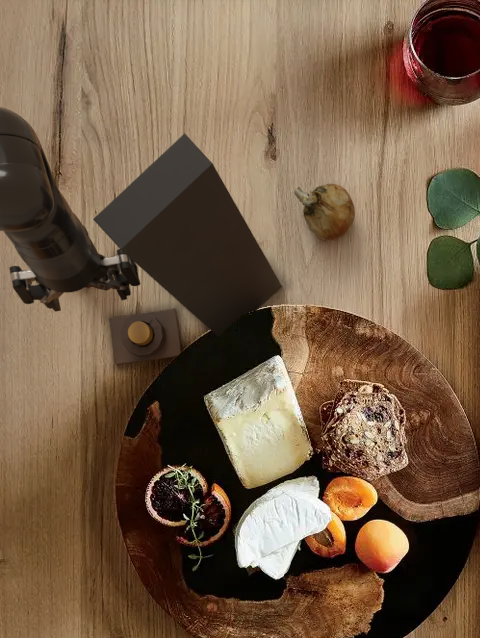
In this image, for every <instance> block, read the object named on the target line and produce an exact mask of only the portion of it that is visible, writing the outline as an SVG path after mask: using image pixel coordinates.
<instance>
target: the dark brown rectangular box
mask: <svg viewBox="0 0 480 638" xmlns="http://www.w3.org/2000/svg"><path fill="white" fill-rule="evenodd" d="M92 220H93V221H94V223H96V225H97V226H98V227H99V228H100V229H101V230H102V231H103V232H104V233H105V234H106V235H107V237H109V239H110V240H111V241H112V242H113V243H114V244H115V245H116V246H117V247H118V249H121V250H122V251H123V252H124V253H125V254H126V255H127V256H128V257H130V258H131V259H132V260H133V261H134V262H135V263H136V265H137V267H140V268H141V269H142V270H143V271H144V272H145V273H146V274H147V275H148V276H149V277H151V278H152V280H154V281H155V282H156V283H157V284H159V286H161V288H163V289H164V290H165V291H166V292H168V293H169V295H171V296H172V297H173V298H174V299H175V300H177V302H179V303H180V304H181V305H182V306H183V307H184V308H185V309H186V310H187V311H188V312H190V313H191V314H192V315H193V316H194V317H195V318H196V319H198V320H199V321H200V323H202V324H203V325H204V326H205V327H206V328H207V329H209V330H210V331H211V332H212V333H213V334H215V336H217V337H218V338H219V336H220V335H221V334H222V333H223V332H224V331H225V330H226V329H227V328H228V327H229V326H231V325H232V323H233V322H235V321H236V320H237V318H239V317H240V316H242V315H245V314H247V313H249V312H252V311H256V310H257V311H258V310H260V308H261V307H263V306H264V304H265V303H266V302H268V301H269V300H270V299H271V298H272V297H273V296H274V295H275V294H276V293H277V292H278V291H280V290H281V289H282V288H283V285H282V283H281V281H280V279H279V278H278V276H277V275H276V273H275V271H274V269H273V268H272V265H271V263H270V262H269V260H268V258H267V257H266V255H265V253H264V252H263V249H262V248H261V246H260V245H259V242H258V241H257V239H256V238H255V236H254V234H253V232H252V230H251V228H250V226H249V225H248V223H247V222H246V220H245V218H244V216H243V215H242V213H241V211H240V209H239V207H238V205H237V204H236V202H235V200H234V198H233V197H232V195H231V193H230V191H229V189H228V188H227V186H226V184H225V182H224V181H223V179H222V178H221V175H220V173H218V170H217V169H216V167H215V165H214V164H213V162H212V161H211V160H210V159H209V157H207V156H206V155H205V154H204V152H203V151H202V150H201V149H200V148H199V147H198V146H197V145H196V143H194V141H193V140H192V139H191V138H190V137H189V136H188V135H187V134H186V133H183V134H181V136H180V137H179V138H178V139H177V140H175V141H174V143H173V144H171V145H170V146H169V147H168V148H167V149H166V150H165V151H164V152H163V153H162V154H160V156H159V157H157V158H156V159H155V160H154V161H153V162H152V163H151V164H150V165H149V166H148V167H147V168H145V170H144V171H143V172H141V174H139V175H138V176H137V177H136V178H135V179H133V181H132V182H131V183H130V184H129V185H127V187H126V188H125V189H124V190H122V192H120V193H119V194H118V195H117V196H116V197H115V198H114V199H113V200H112V201H111V202H109V204H108V205H106V206H105V207H104V208H103V209H102V210H101V211H100V212H98V214H97V215H96V216H95V217H94V218H93V219H92ZM257 311H256V312H257Z"/></svg>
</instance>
